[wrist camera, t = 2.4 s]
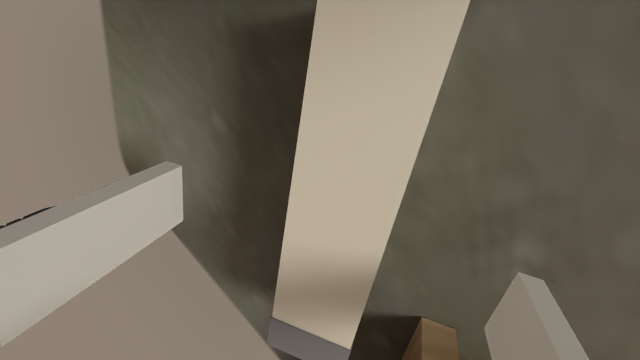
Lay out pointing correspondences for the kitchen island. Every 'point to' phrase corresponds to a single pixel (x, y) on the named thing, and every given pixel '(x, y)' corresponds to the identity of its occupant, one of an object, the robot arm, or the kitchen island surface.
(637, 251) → the kitchen island surface
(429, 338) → the wooden post cradle
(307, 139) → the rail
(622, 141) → the kitchen island surface
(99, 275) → the robot arm
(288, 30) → the kitchen island surface
